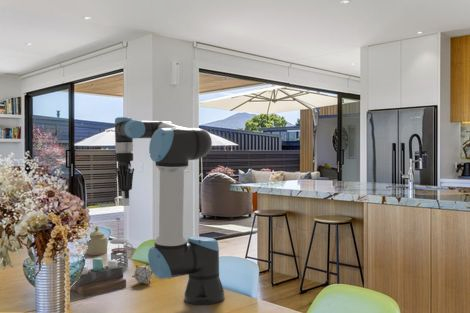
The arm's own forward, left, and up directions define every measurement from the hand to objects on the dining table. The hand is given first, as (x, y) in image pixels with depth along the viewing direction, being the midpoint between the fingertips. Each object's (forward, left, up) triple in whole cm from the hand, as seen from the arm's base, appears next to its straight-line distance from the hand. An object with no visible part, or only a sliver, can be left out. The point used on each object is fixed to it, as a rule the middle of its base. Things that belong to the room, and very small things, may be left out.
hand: (125, 205), depth 206 cm
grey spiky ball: (-12, -1, -33) cm, 35 cm away
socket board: (-4, +16, -32) cm, 36 cm away
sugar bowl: (+60, -12, -33) cm, 70 cm away
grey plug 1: (-4, +22, -28) cm, 36 cm away
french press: (+16, -5, -33) cm, 37 cm away
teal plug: (-4, +15, -26) cm, 31 cm away
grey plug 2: (-4, +9, -28) cm, 30 cm away
